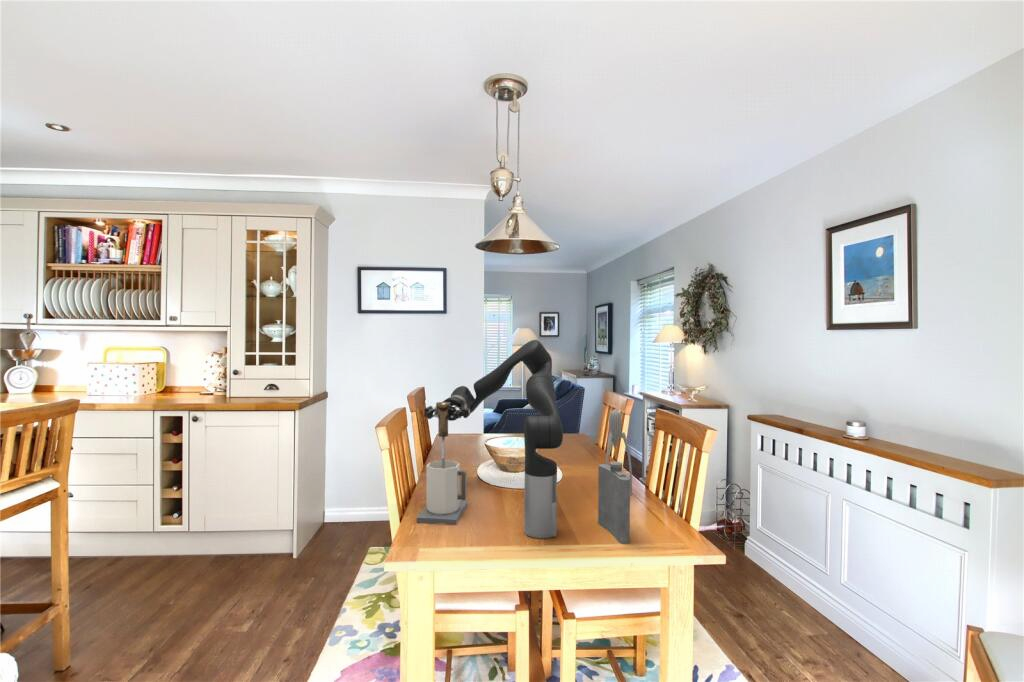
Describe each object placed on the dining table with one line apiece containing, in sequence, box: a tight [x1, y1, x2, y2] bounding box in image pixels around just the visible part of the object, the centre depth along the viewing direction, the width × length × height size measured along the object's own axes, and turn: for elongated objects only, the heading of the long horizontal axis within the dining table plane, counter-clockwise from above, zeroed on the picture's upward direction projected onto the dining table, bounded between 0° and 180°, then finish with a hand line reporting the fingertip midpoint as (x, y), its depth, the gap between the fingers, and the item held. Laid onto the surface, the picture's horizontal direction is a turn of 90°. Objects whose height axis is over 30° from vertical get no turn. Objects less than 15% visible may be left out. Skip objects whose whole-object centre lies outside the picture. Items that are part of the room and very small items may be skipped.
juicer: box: [605, 408, 633, 497], centre depth 175 cm, size 10×9×30 cm
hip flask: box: [597, 461, 631, 545], centre depth 144 cm, size 16×4×20 cm, turn 15°
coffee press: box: [416, 459, 468, 525], centre depth 157 cm, size 13×16×16 cm
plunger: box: [435, 401, 450, 469], centre depth 156 cm, size 8×8×23 cm
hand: (441, 416), depth 154 cm, fingers open, 7 cm apart
